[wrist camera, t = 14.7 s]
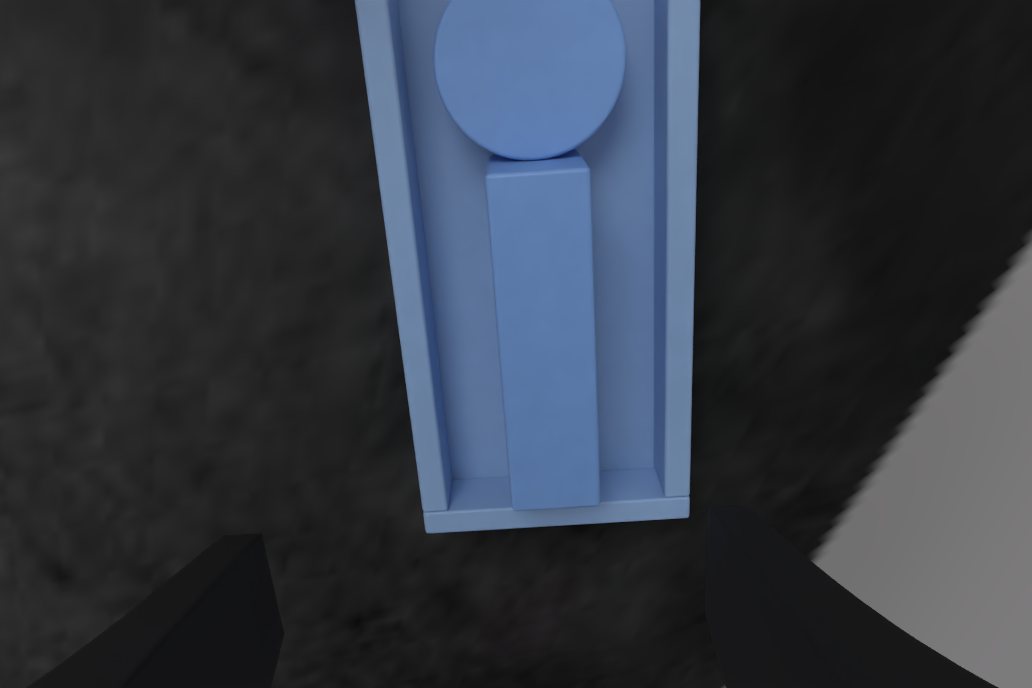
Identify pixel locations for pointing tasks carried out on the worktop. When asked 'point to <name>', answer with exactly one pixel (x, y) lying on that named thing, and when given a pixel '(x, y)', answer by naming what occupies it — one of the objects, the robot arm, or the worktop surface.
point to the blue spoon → (539, 217)
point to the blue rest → (469, 280)
